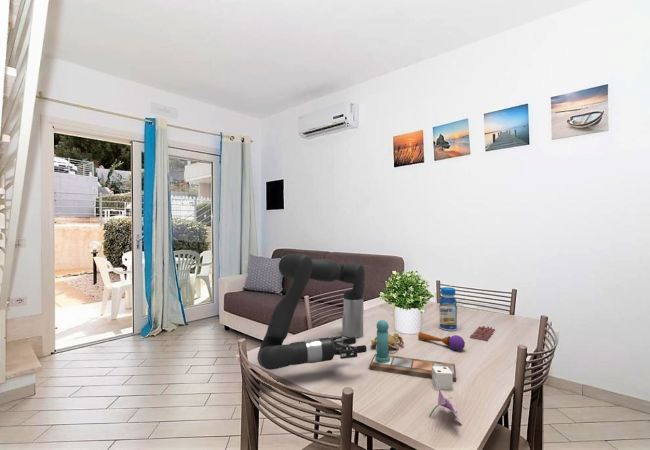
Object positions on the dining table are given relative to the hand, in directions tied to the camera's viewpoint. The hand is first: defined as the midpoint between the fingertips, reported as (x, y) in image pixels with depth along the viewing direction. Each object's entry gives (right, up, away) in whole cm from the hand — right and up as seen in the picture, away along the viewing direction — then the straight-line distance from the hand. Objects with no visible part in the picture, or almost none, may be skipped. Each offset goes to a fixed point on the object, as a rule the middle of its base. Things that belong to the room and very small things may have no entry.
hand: (360, 344), depth 115 cm
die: (+25, -9, -13) cm, 29 cm away
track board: (+18, -9, -1) cm, 20 cm away
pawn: (+8, -7, +3) cm, 11 cm away
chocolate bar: (+62, -10, +36) cm, 72 cm away
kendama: (+37, -9, +22) cm, 44 cm away
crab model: (+13, -9, +21) cm, 26 cm away
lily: (+19, -9, -30) cm, 37 cm away
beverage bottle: (+49, -9, +45) cm, 67 cm away
